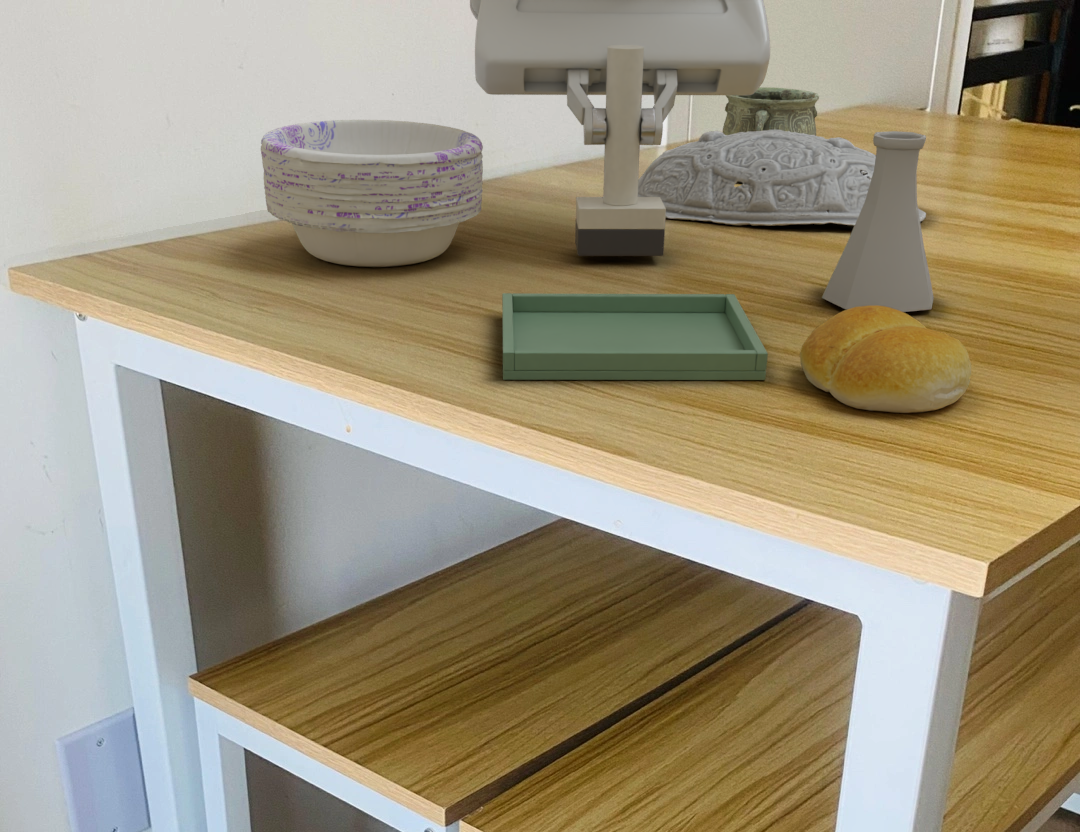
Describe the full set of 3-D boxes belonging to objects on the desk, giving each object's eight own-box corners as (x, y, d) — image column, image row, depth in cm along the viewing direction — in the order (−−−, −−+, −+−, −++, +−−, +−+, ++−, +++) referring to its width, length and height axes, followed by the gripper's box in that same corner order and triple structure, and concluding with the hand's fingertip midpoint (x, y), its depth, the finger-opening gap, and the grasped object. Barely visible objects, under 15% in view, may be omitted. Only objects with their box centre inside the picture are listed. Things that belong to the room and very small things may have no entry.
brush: (657, 243, 99) (667, 43, 92) (663, 256, 96) (674, 50, 89) (575, 243, 99) (578, 43, 92) (577, 256, 95) (581, 49, 89)
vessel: (732, 152, 136) (738, 82, 132) (822, 158, 133) (830, 87, 130) (706, 173, 126) (711, 98, 123) (802, 179, 124) (810, 104, 120)
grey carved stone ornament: (920, 230, 103) (930, 133, 100) (598, 224, 110) (599, 133, 107) (930, 212, 116) (939, 126, 113) (643, 208, 123) (644, 127, 120)
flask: (833, 317, 85) (854, 144, 80) (810, 287, 91) (827, 125, 86) (949, 317, 85) (977, 145, 80) (917, 287, 91) (942, 126, 86)
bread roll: (870, 426, 68) (882, 346, 66) (775, 374, 75) (782, 300, 73) (1004, 406, 71) (1019, 328, 69) (900, 357, 78) (911, 286, 76)
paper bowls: (502, 274, 93) (501, 149, 89) (276, 284, 90) (264, 155, 86) (464, 226, 106) (462, 115, 102) (265, 233, 103) (254, 119, 99)
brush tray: (732, 318, 84) (734, 293, 84) (765, 380, 74) (768, 352, 73) (502, 317, 84) (502, 293, 83) (503, 380, 74) (502, 352, 73)
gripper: (468, -70, 93) (468, 108, 89) (769, -68, 93) (780, 109, 90) (471, 0, 99) (471, 168, 96) (753, 1, 99) (762, 169, 96)
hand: (623, 139), depth 93 cm, fingers closed on brush, 2 cm apart
